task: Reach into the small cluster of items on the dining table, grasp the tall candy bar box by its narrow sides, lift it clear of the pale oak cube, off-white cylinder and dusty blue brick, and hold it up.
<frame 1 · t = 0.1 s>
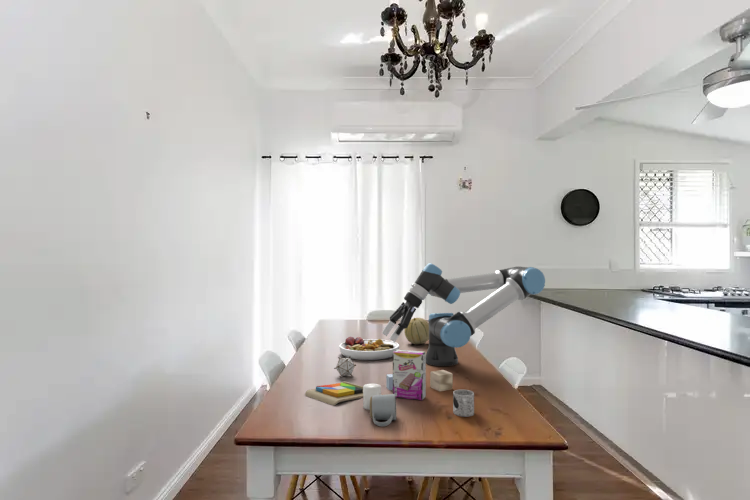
hand: (387, 337, 202), 15 cm above the table, tool tilted 35°, fingers open, 13 cm apart
oak cube: (441, 388, 181), on the table
ceramic mug: (384, 421, 148), on the table
cantaloupe: (417, 344, 264), on the table
candy bar box: (409, 397, 170), on the table
game die: (345, 376, 199), on the table
white cylinder: (372, 407, 160), on the table
blue brick: (397, 388, 182), on the table
mug: (464, 415, 152), on the table
wooden puzzle: (339, 396, 174), on the table
bowl: (369, 355, 240), on the table
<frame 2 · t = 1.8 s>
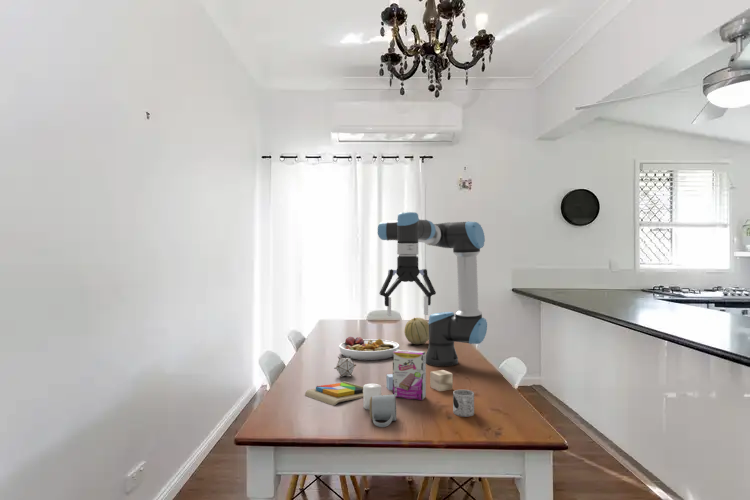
hand: (407, 315, 171), 29 cm above the table, tool pointing down, fingers open, 13 cm apart
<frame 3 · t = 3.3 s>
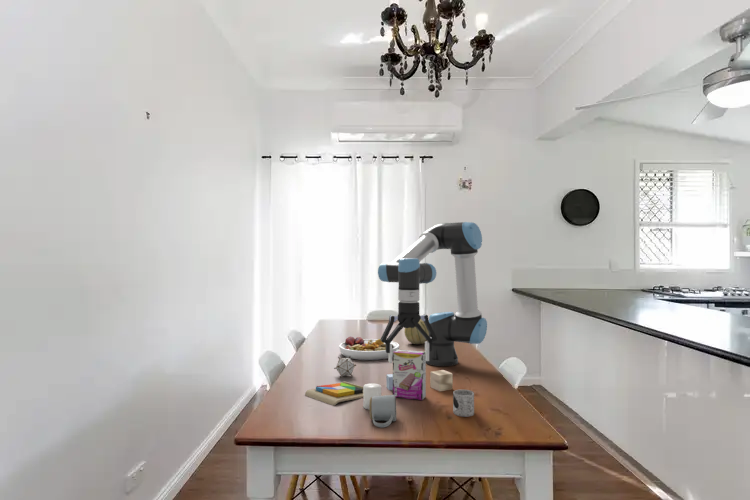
hand: (408, 361, 170), 13 cm above the table, tool pointing down, fingers open, 13 cm apart
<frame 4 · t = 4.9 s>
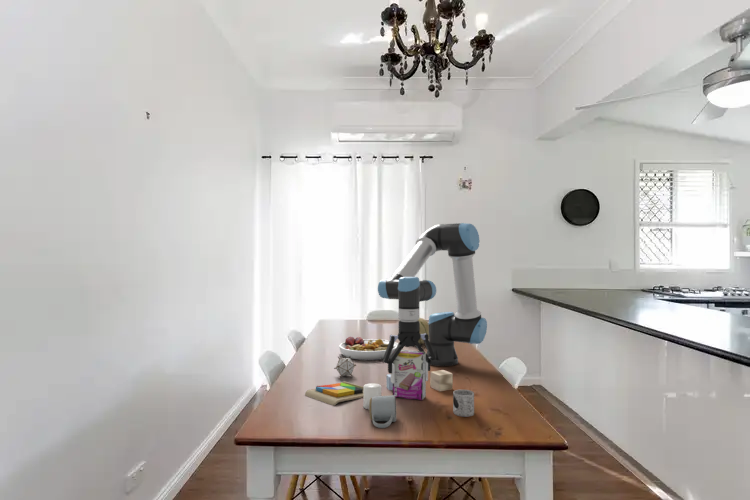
hand: (409, 381, 170), 6 cm above the table, tool pointing down, fingers closed on candy bar box, 12 cm apart
candy bar box: (409, 397, 170), on the table, touching gripper
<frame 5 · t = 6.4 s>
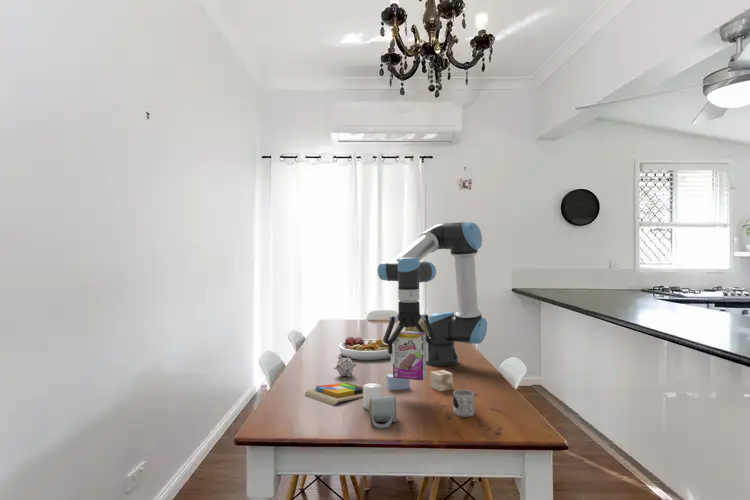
hand: (409, 361, 171), 13 cm above the table, tool pointing down, fingers closed on candy bar box, 12 cm apart
candy bar box: (409, 378, 171), point 7 cm above the table, touching gripper
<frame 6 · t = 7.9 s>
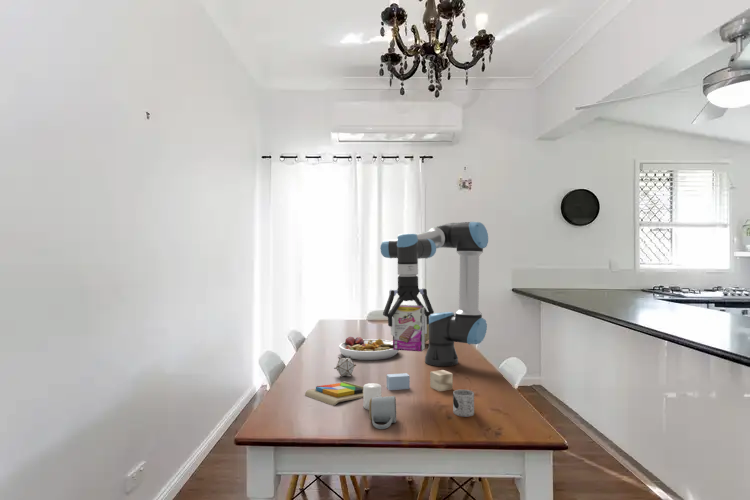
hand: (408, 334, 177), 21 cm above the table, tool pointing down, fingers closed on candy bar box, 12 cm apart
candy bar box: (408, 350, 177), point 15 cm above the table, touching gripper
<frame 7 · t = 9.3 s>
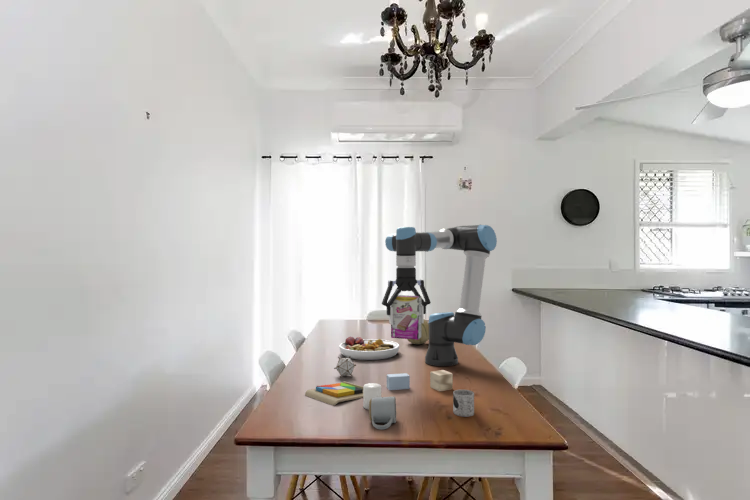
hand: (406, 323, 185), 24 cm above the table, tool pointing down, fingers closed on candy bar box, 12 cm apart
candy bar box: (406, 338, 185), point 18 cm above the table, touching gripper
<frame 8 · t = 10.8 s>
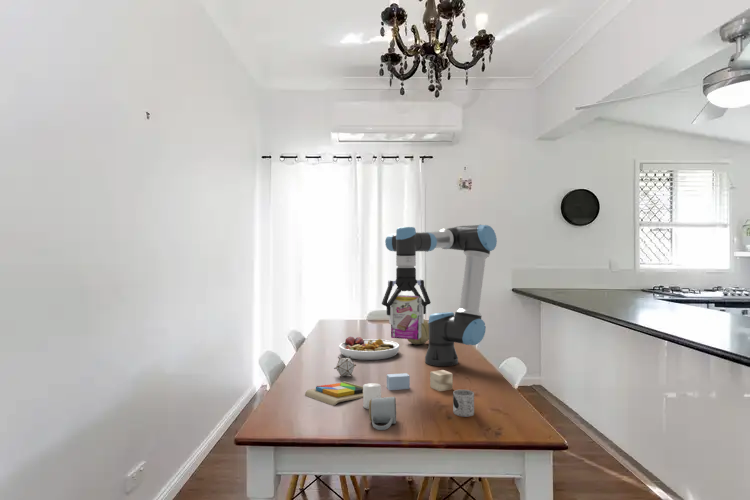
hand: (406, 323, 185), 24 cm above the table, tool pointing down, fingers closed on candy bar box, 12 cm apart
candy bar box: (406, 338, 185), point 18 cm above the table, touching gripper
at the end: the gripper is holding candy bar box; candy bar box point 18.2 cm above the table; white cylinder moved 0.1 cm from its start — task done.
